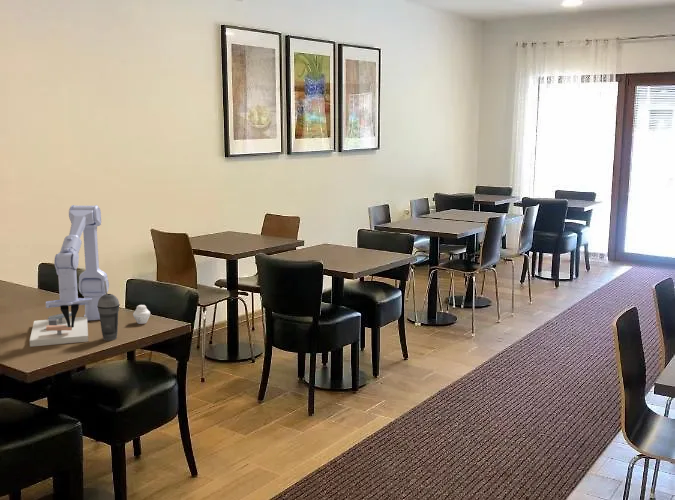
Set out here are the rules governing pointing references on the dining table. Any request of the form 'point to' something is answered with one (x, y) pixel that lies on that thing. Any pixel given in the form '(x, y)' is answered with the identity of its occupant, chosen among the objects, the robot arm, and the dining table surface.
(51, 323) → the block
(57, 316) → the plate
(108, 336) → the beverage cup
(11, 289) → the dining table surface
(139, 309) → the white rounded jar
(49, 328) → the pink plate with label
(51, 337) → the switch panel
